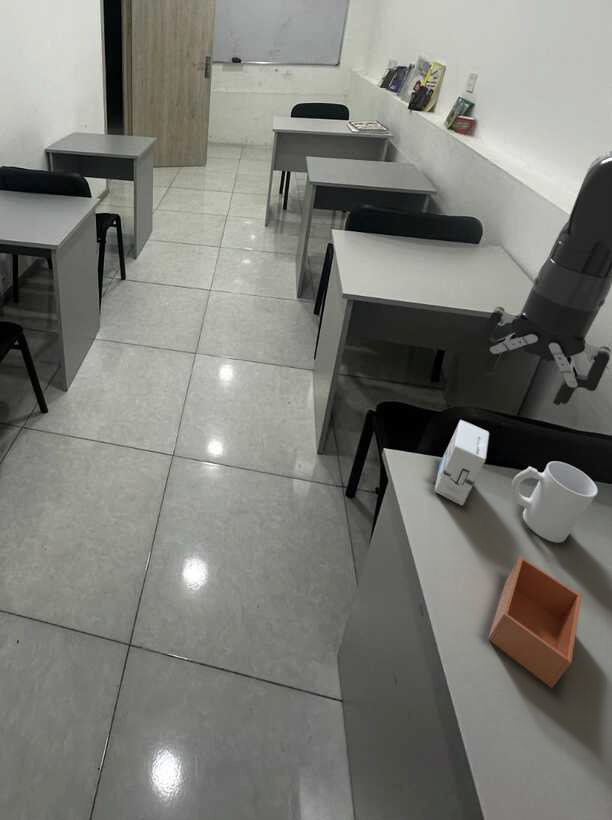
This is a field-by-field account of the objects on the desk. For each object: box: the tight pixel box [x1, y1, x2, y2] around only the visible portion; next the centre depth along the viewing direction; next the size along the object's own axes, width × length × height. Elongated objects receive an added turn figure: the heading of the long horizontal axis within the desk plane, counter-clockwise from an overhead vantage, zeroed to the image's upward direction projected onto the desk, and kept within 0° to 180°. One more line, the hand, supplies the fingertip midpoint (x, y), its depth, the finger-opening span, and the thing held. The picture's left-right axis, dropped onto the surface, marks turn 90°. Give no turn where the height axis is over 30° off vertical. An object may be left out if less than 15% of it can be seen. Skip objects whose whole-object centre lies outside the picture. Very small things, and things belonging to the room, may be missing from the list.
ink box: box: [434, 419, 490, 506], centre depth 88 cm, size 9×5×12 cm, turn 144°
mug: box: [511, 460, 599, 543], centre depth 83 cm, size 10×7×12 cm, turn 60°
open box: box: [487, 555, 582, 689], centre depth 68 cm, size 7×11×6 cm, turn 135°
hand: (521, 386), depth 72 cm, fingers open, 8 cm apart
